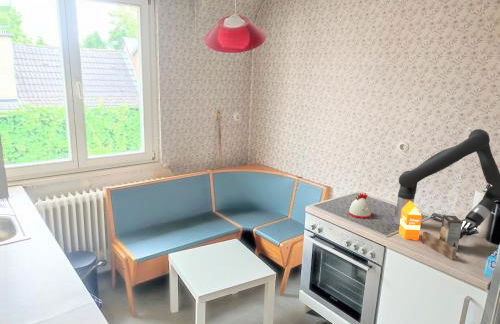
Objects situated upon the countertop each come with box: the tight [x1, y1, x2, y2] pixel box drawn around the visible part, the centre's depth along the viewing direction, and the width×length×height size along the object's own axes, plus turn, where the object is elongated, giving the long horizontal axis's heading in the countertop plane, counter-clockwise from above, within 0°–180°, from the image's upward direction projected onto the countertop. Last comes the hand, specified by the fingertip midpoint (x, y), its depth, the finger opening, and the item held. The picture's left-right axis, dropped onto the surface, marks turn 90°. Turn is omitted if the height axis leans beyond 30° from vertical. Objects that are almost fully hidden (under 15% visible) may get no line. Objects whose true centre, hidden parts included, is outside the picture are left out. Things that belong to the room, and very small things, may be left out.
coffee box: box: [439, 214, 462, 252], centre depth 181 cm, size 9×6×16 cm
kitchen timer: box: [348, 192, 372, 220], centre depth 223 cm, size 14×14×15 cm
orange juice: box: [398, 201, 423, 241], centre depth 192 cm, size 8×9×20 cm
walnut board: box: [421, 231, 457, 261], centre depth 177 cm, size 20×2×6 cm, turn 15°
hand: (456, 238), depth 182 cm, fingers closed
